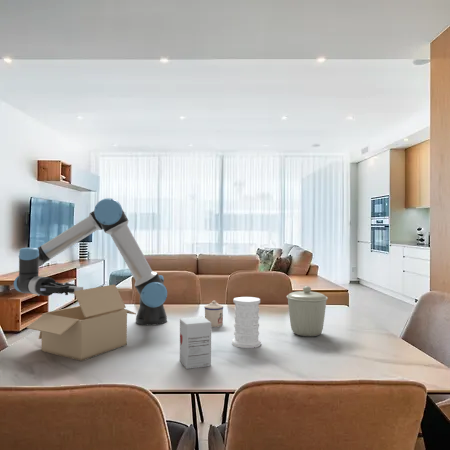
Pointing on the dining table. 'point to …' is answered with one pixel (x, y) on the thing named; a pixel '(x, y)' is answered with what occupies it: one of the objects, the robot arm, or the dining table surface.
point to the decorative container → (246, 322)
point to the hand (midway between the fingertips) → (81, 290)
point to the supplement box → (195, 342)
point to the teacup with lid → (214, 314)
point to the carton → (81, 332)
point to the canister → (307, 312)
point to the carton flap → (99, 300)
